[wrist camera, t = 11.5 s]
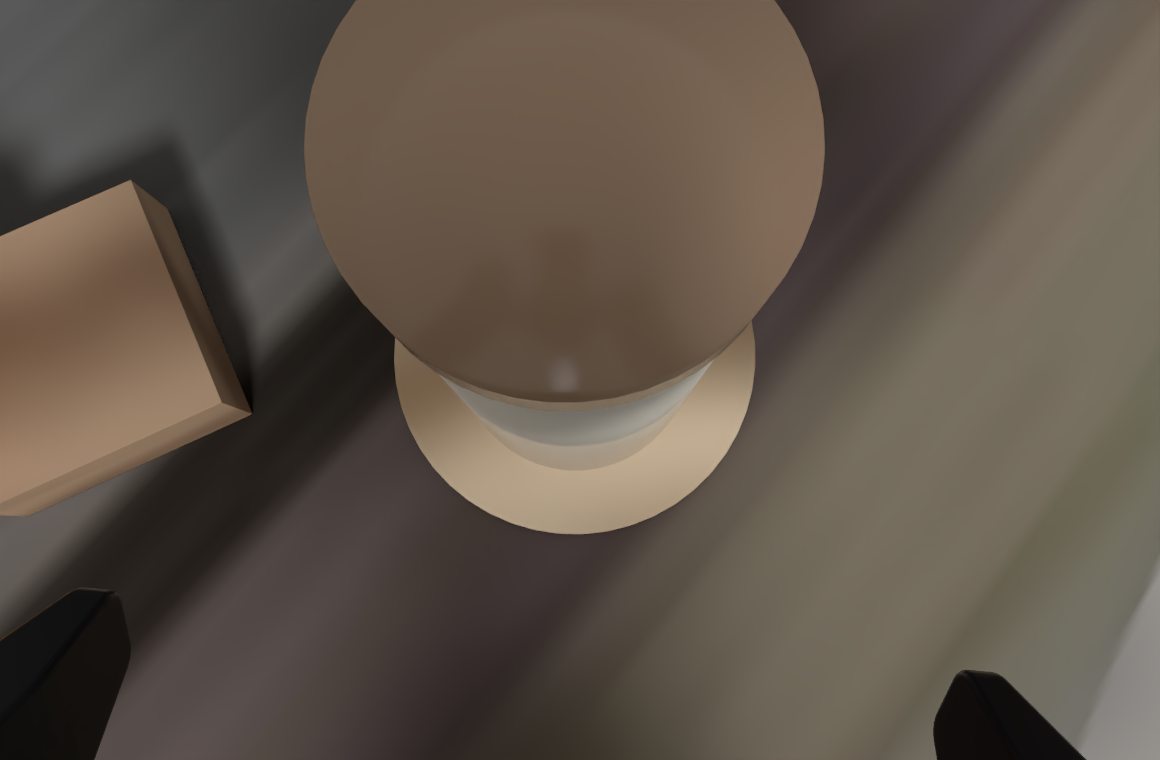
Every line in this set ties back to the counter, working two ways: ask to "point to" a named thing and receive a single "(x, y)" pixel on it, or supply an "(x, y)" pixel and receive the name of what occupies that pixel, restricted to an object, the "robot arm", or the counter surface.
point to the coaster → (589, 494)
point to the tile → (102, 349)
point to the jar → (565, 198)
